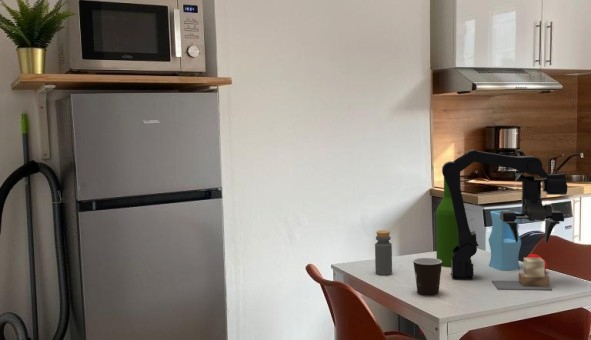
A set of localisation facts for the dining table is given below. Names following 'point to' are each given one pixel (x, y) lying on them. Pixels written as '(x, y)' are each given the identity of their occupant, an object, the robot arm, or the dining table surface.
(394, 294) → the dining table surface
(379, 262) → the bottle
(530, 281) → the brown block
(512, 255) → the vase
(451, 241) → the wine bottle
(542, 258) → the apple
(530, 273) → the birch cube
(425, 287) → the coffee mug
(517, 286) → the mat
